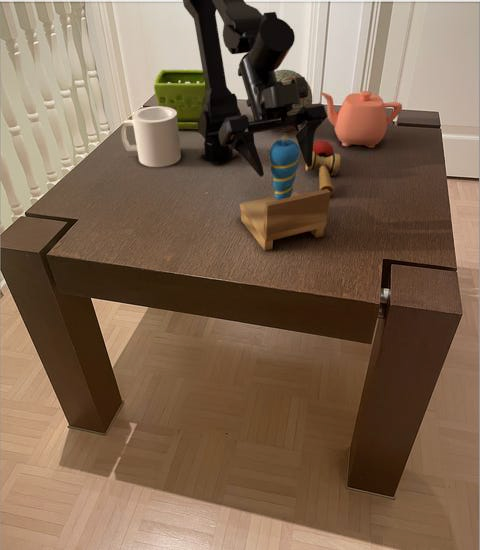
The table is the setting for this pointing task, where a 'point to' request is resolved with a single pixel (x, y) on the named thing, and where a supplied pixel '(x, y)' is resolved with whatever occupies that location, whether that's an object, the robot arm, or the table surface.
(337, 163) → the kendama
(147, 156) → the mug
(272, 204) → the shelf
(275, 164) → the ornament
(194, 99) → the flower pot
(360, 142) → the teapot
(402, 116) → the table surface
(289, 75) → the decorative sphere
